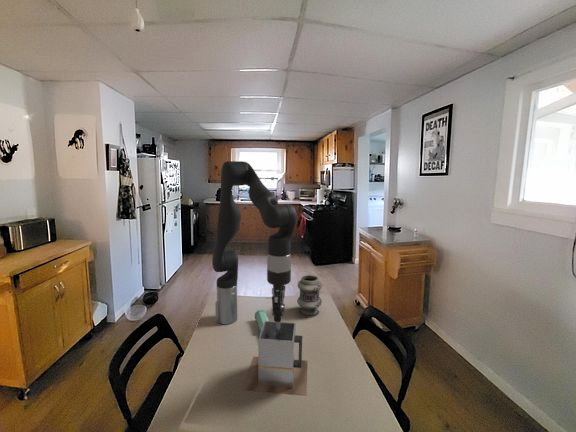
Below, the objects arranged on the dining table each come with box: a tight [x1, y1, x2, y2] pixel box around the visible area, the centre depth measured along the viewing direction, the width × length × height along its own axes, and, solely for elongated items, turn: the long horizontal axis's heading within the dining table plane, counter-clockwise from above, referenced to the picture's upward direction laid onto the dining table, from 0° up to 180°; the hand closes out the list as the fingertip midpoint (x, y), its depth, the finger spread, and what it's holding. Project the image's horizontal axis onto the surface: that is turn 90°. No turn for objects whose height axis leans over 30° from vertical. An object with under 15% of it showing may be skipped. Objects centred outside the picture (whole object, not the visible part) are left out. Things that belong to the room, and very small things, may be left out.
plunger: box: [271, 302, 286, 340], centre depth 91 cm, size 8×8×17 cm
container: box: [254, 309, 270, 333], centre depth 117 cm, size 6×6×25 cm
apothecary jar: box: [297, 274, 323, 318], centre depth 137 cm, size 12×12×18 cm
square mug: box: [257, 320, 303, 388], centre depth 92 cm, size 14×11×16 cm
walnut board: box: [242, 355, 309, 397], centre depth 93 cm, size 20×16×1 cm
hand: (278, 317), depth 90 cm, fingers closed on plunger, 4 cm apart
